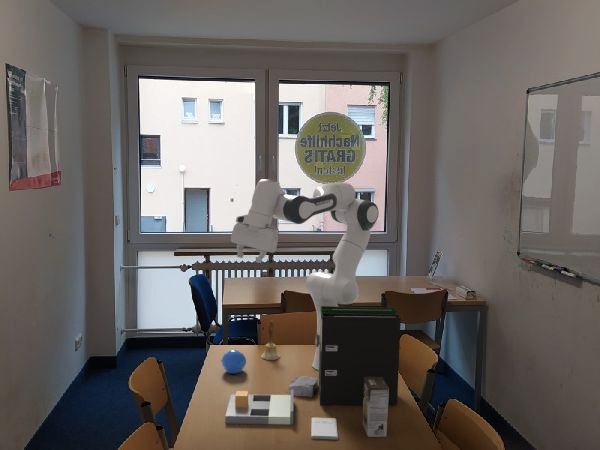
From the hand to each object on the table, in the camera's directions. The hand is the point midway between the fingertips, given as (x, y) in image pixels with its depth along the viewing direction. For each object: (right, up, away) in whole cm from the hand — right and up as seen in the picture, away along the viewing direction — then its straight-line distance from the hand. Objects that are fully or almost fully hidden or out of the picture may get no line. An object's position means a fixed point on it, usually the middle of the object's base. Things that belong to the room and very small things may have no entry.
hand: (248, 260), depth 201 cm
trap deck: (+5, -51, -9) cm, 52 cm away
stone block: (+19, -50, +10) cm, 54 cm away
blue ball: (-8, -47, +26) cm, 54 cm away
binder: (+39, -51, +3) cm, 64 cm away
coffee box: (+42, -53, -20) cm, 71 cm away
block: (-1, -49, -10) cm, 49 cm away
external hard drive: (+26, -54, -21) cm, 63 cm away
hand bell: (+6, -45, +44) cm, 63 cm away
